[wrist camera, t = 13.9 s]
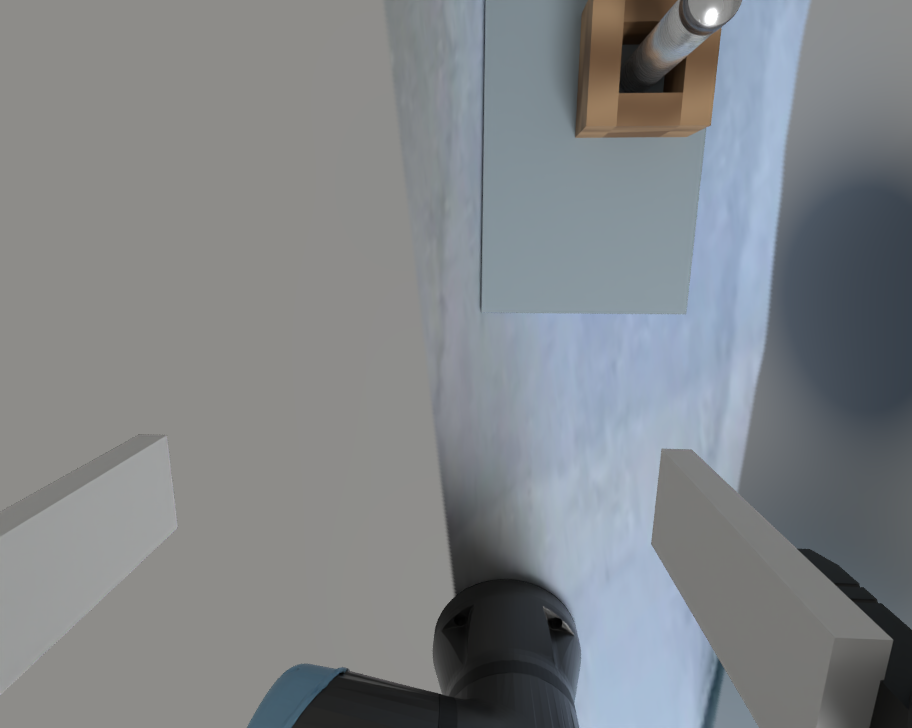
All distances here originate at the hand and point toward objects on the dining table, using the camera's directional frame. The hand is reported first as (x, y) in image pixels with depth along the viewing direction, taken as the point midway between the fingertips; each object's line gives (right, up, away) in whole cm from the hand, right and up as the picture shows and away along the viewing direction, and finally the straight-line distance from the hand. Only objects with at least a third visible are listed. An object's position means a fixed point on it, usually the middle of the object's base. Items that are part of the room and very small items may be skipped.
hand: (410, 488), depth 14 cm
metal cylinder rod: (+15, +26, +27) cm, 41 cm away
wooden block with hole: (+15, +26, +27) cm, 41 cm away
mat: (+12, +21, +29) cm, 38 cm away
